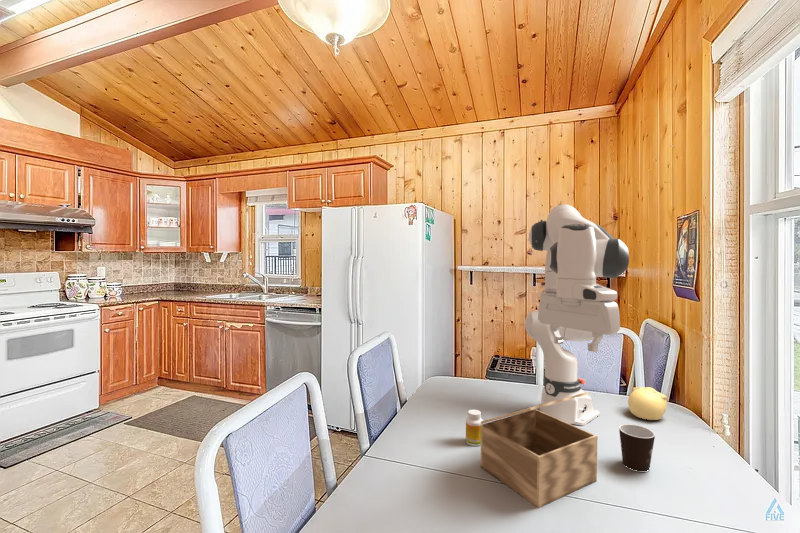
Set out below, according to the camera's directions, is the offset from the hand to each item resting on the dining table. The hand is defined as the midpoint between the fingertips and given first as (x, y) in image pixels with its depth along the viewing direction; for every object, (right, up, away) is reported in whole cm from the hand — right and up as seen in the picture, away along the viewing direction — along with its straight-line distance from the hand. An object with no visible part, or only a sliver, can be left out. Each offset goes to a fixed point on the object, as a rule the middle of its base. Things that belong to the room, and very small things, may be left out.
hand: (574, 347), depth 95 cm
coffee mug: (+25, -37, +15) cm, 47 cm away
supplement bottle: (-19, -36, +28) cm, 49 cm away
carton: (-6, -36, +10) cm, 38 cm away
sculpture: (+48, -36, +48) cm, 76 cm away
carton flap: (-6, -19, +11) cm, 23 cm away
